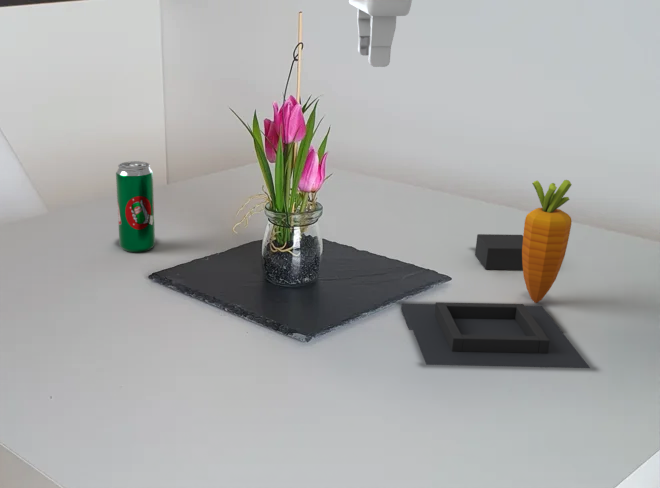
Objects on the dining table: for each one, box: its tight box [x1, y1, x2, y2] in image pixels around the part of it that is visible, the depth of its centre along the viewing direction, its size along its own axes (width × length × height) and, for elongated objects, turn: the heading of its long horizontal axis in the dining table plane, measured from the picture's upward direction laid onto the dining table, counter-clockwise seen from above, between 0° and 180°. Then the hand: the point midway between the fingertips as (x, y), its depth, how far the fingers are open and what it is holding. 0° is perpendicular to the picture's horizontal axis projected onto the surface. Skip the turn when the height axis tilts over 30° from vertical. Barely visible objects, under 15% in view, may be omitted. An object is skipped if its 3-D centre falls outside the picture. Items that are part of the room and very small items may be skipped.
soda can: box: [115, 160, 156, 253], centre depth 117 cm, size 5×5×12 cm
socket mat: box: [400, 302, 591, 369], centre depth 89 cm, size 16×16×2 cm
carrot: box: [522, 179, 573, 304], centre depth 96 cm, size 5×5×15 cm
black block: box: [474, 233, 523, 271], centre depth 112 cm, size 6×6×3 cm
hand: (372, 60), depth 82 cm, fingers open, 8 cm apart
